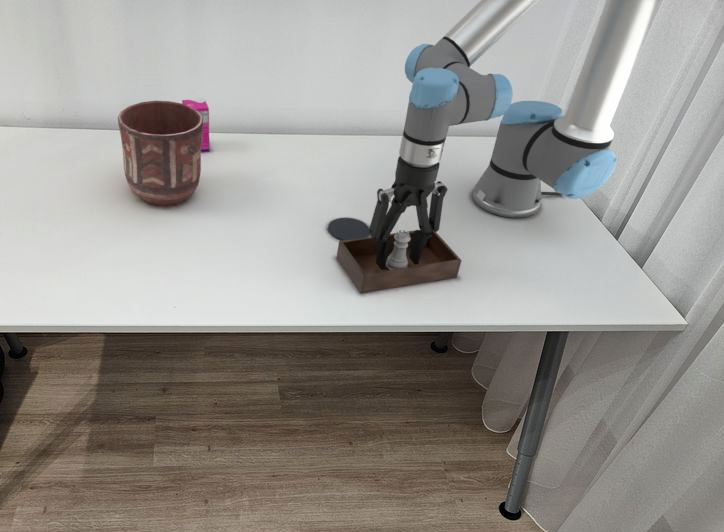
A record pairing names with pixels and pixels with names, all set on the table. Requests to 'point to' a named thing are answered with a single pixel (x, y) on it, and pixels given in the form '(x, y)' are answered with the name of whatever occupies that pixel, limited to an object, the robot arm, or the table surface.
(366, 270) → the tray
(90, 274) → the table surface
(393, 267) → the rook chess piece
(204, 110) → the supplement box
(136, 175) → the pottery
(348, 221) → the coaster
